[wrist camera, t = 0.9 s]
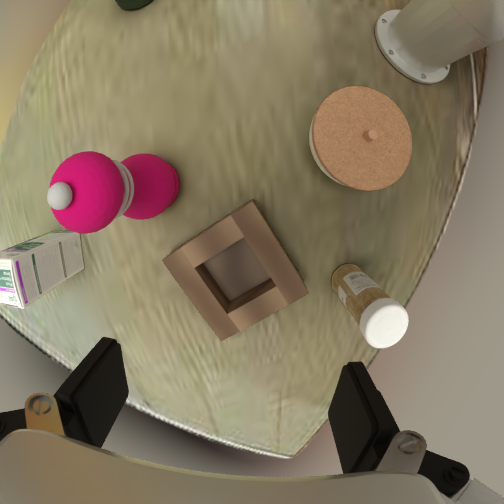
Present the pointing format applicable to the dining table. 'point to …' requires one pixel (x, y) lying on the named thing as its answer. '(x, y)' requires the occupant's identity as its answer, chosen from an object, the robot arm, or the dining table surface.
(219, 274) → the socket block
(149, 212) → the pepper mill
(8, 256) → the syrup box
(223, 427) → the dining table surface
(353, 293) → the sprinkles bottle
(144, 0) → the character mug
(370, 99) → the lidded jar
